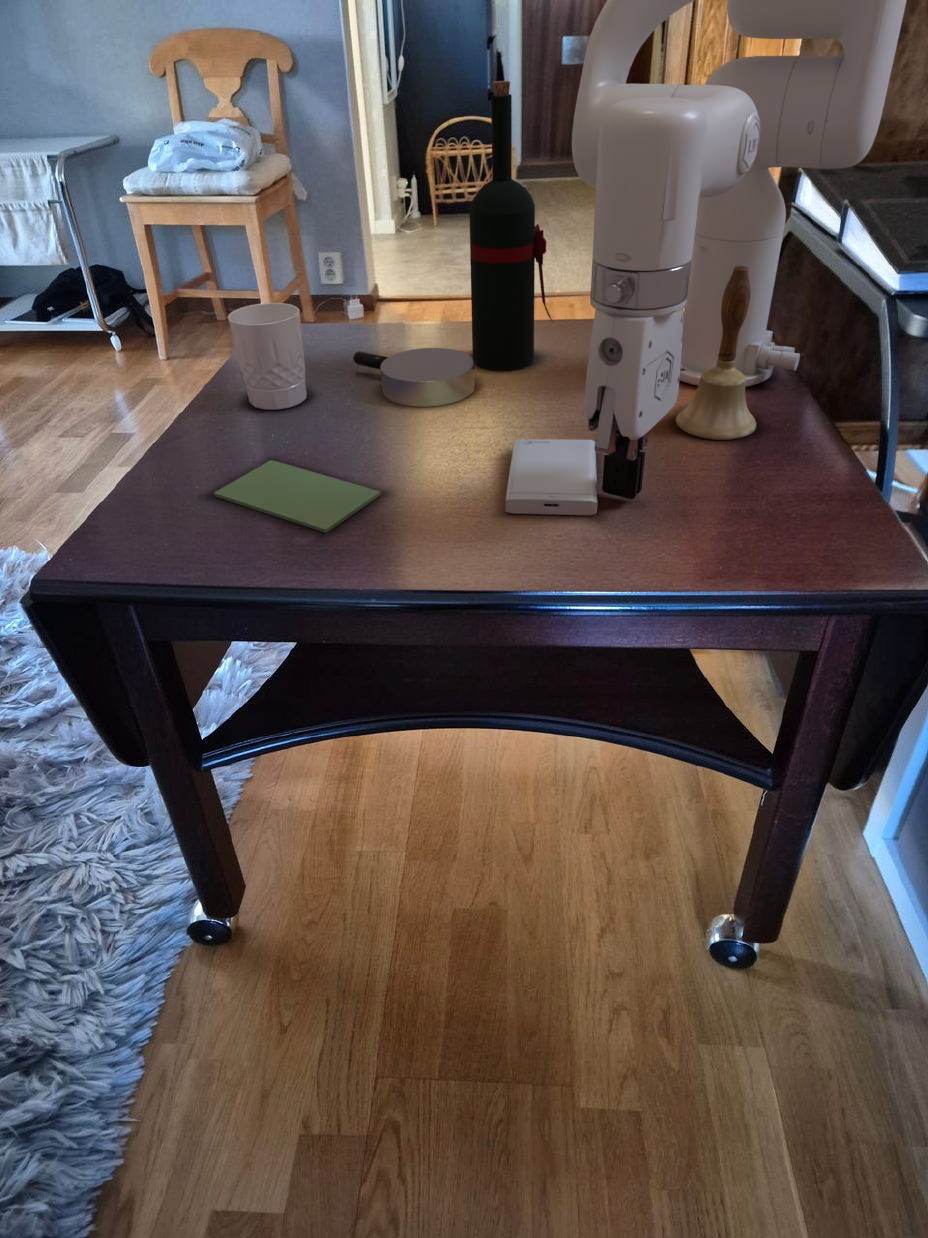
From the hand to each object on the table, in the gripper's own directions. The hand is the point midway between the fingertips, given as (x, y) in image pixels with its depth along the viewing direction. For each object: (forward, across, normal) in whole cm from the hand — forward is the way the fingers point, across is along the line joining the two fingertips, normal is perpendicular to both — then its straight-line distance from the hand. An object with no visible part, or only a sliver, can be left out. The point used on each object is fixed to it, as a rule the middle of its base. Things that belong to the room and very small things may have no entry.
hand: (621, 491), depth 77 cm
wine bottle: (+1, +27, +27) cm, 38 cm away
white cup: (+1, +3, +45) cm, 45 cm away
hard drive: (+1, 0, +7) cm, 7 cm away
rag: (+1, -14, +27) cm, 31 cm away
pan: (+1, +14, +34) cm, 37 cm away
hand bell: (+1, +20, -2) cm, 20 cm away
